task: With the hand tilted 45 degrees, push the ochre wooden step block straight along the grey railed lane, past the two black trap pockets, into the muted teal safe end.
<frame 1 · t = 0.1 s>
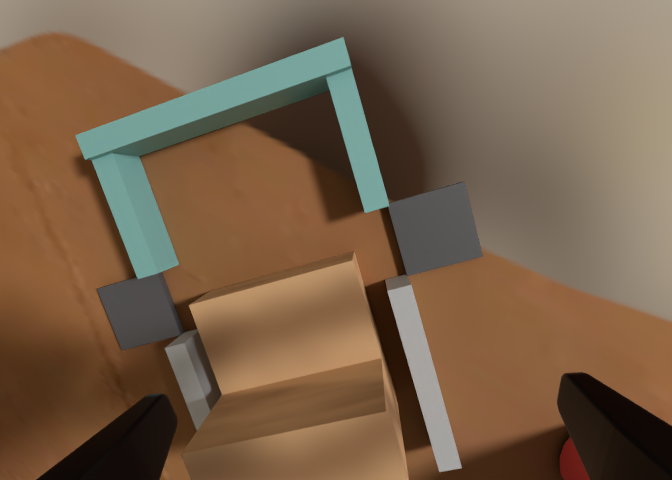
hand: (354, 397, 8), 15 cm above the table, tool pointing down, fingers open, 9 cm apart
step block: (303, 341, 24), resting in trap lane
beer can: (601, 454, 24), on the table
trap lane: (287, 294, 24), on the table
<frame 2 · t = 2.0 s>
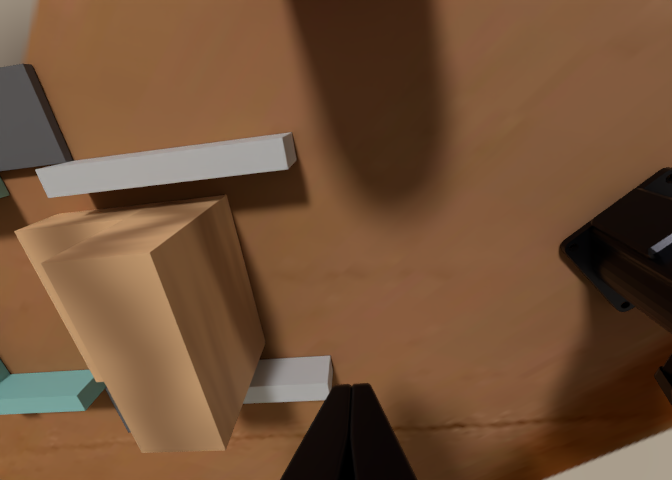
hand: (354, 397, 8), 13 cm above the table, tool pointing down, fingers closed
step block: (169, 282, 22), resting in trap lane
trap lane: (117, 287, 23), on the table
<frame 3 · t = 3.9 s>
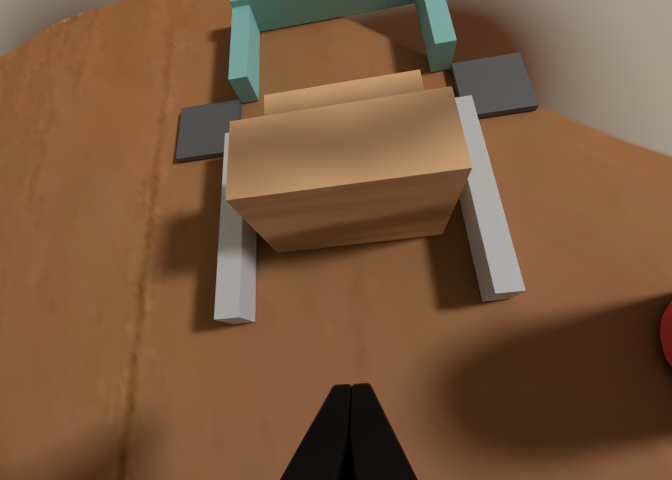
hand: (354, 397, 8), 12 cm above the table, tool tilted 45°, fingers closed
step block: (350, 173, 24), resting in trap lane
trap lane: (346, 129, 25), on the table
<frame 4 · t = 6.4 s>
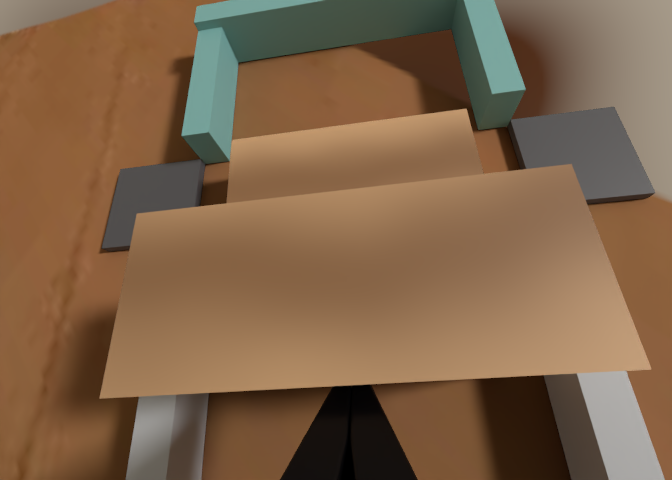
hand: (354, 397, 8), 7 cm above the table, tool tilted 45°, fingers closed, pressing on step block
step block: (358, 257, 16), resting in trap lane, touching gripper
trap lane: (354, 213, 17), on the table
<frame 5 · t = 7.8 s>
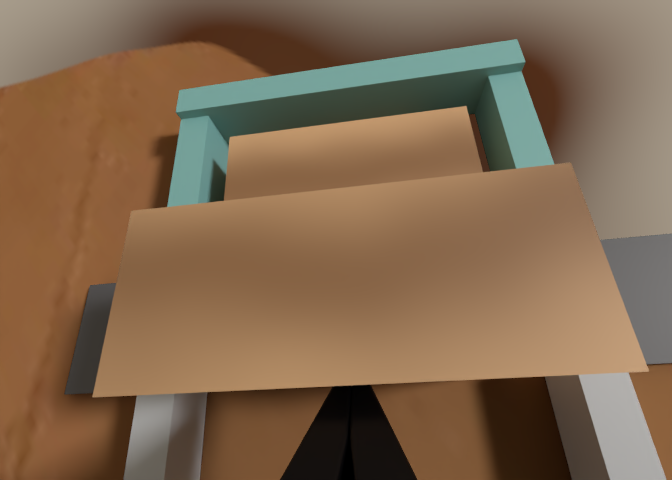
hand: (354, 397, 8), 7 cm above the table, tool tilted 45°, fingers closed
step block: (356, 255, 16), resting in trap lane
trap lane: (365, 359, 14), on the table
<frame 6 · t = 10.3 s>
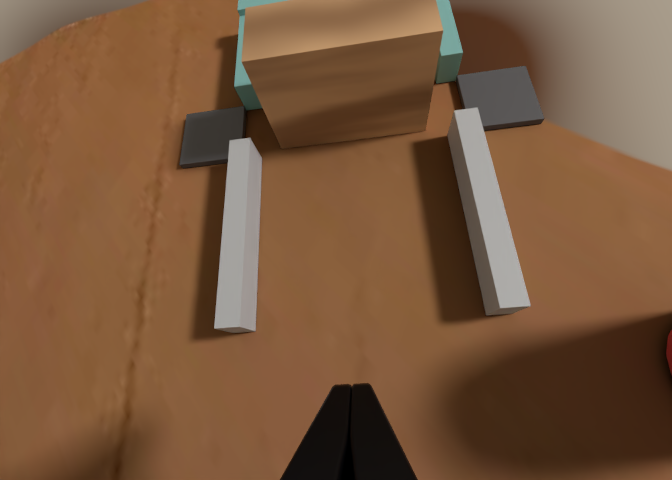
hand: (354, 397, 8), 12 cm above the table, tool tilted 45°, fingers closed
step block: (347, 86, 27), resting in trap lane
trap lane: (351, 139, 25), on the table
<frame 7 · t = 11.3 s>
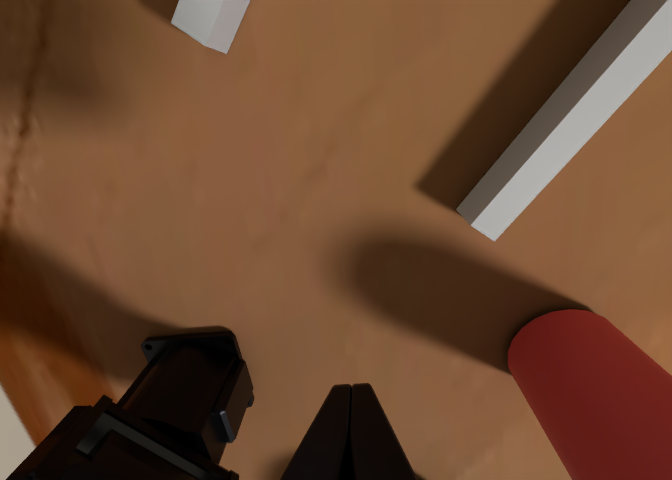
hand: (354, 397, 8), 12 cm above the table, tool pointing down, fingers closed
beer can: (554, 344, 22), on the table
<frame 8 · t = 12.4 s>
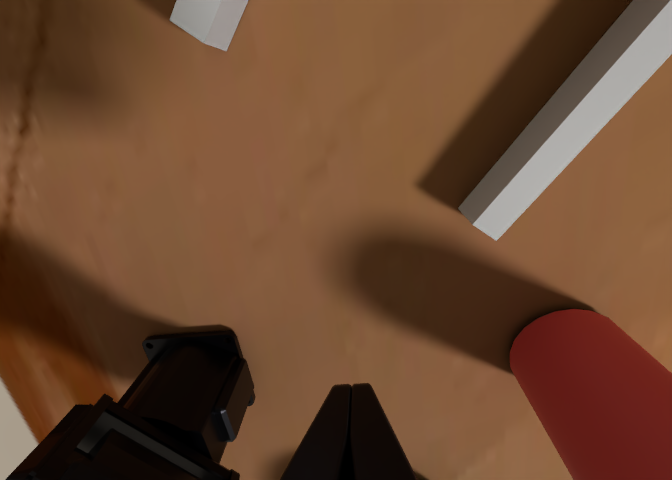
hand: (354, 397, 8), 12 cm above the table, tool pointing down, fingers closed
beer can: (556, 344, 21), on the table
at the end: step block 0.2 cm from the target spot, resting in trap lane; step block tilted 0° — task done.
